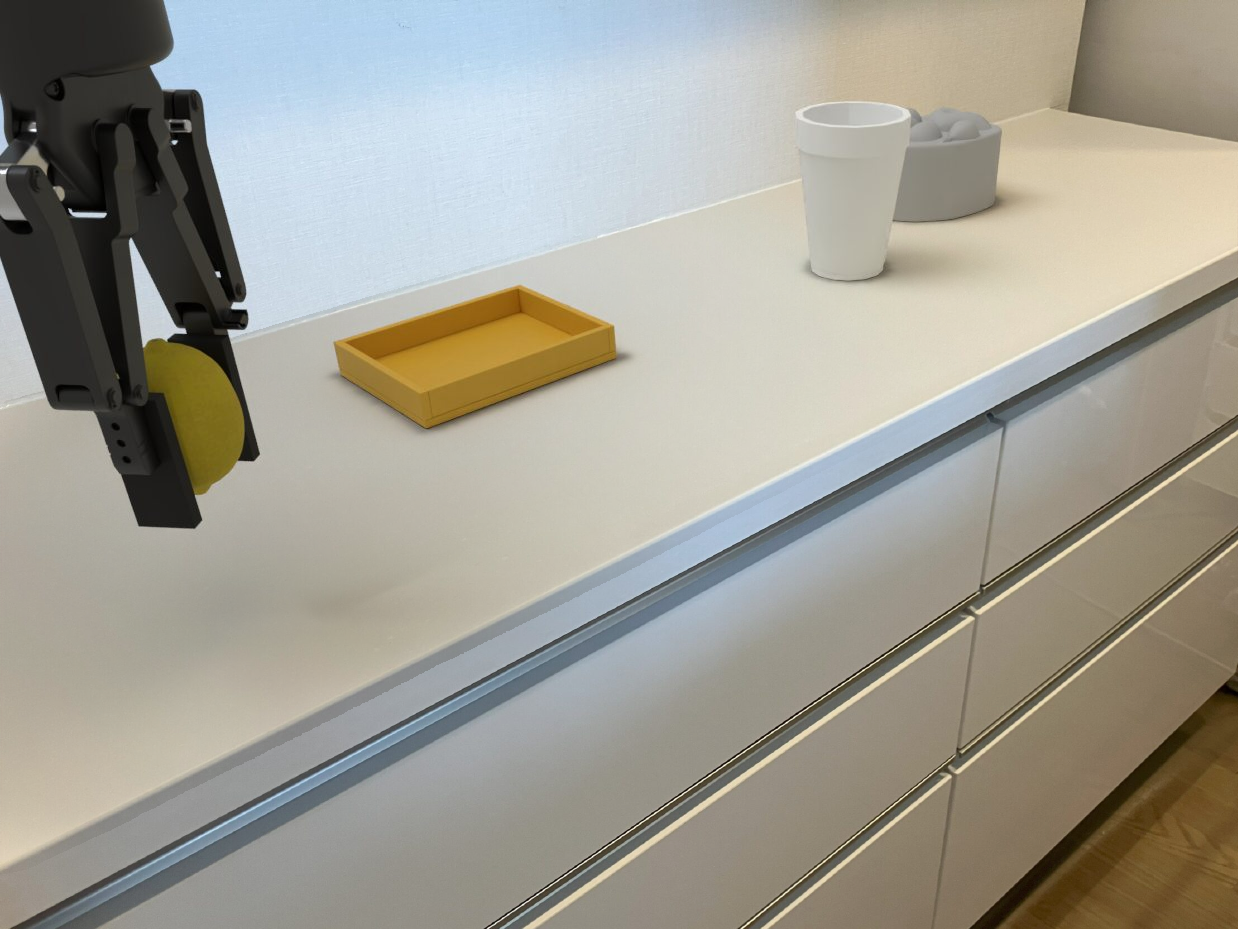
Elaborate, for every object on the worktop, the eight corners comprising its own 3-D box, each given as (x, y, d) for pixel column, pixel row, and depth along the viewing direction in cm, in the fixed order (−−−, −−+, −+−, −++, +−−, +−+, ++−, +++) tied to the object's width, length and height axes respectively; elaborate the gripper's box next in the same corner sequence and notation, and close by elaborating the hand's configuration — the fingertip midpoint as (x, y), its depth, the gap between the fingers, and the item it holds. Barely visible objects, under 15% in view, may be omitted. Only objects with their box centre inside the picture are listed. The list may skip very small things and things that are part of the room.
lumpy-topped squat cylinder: (1008, 202, 116) (1018, 112, 111) (920, 229, 109) (927, 135, 104) (930, 181, 122) (937, 96, 118) (843, 206, 116) (847, 117, 111)
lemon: (169, 464, 58) (123, 315, 53) (277, 466, 58) (240, 316, 53) (117, 523, 53) (62, 365, 49) (234, 525, 53) (189, 366, 49)
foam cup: (808, 291, 96) (811, 131, 89) (781, 255, 104) (782, 105, 97) (916, 280, 97) (927, 122, 90) (881, 246, 105) (890, 98, 98)
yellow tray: (426, 429, 76) (419, 393, 75) (340, 374, 84) (332, 341, 83) (616, 358, 85) (614, 325, 84) (523, 315, 93) (519, 284, 92)
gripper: (-22, -11, 35) (184, 607, 47) (246, -74, 50) (347, 404, 63) (-251, -11, 35) (12, 598, 48) (83, -73, 51) (216, 400, 63)
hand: (202, 487), depth 55 cm, fingers closed on lemon, 5 cm apart
